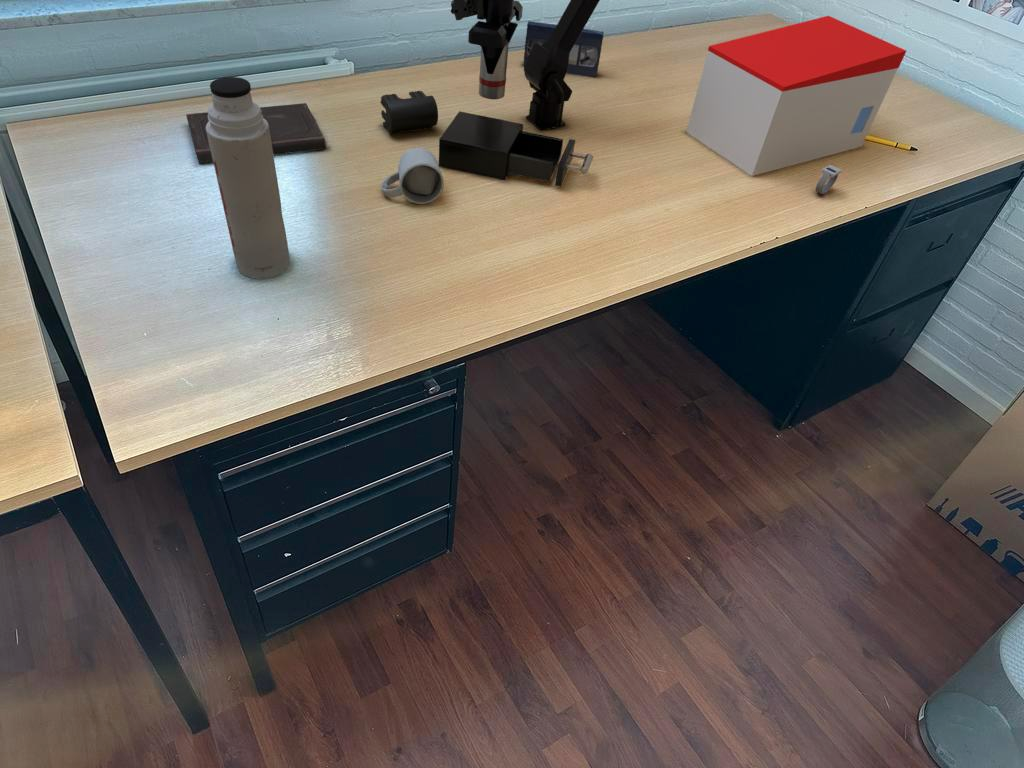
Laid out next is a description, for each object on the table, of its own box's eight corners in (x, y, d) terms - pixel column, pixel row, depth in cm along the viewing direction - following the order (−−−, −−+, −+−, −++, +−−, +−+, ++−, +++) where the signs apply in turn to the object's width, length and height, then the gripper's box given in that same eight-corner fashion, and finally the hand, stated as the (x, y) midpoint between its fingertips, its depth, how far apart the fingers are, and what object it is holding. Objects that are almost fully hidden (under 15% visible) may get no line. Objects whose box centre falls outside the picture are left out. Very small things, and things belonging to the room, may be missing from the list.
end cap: (391, 140, 142) (390, 107, 137) (379, 125, 146) (378, 92, 142) (438, 134, 146) (438, 101, 141) (425, 119, 150) (425, 87, 145)
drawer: (593, 163, 141) (596, 144, 138) (582, 191, 133) (586, 171, 130) (512, 147, 143) (514, 127, 140) (497, 173, 135) (499, 153, 132)
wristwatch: (823, 184, 145) (833, 162, 142) (835, 190, 144) (845, 167, 141) (808, 194, 142) (818, 171, 139) (820, 199, 141) (831, 177, 137)
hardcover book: (188, 125, 139) (185, 114, 138) (307, 113, 147) (306, 102, 145) (199, 165, 129) (196, 153, 128) (326, 150, 137) (324, 138, 136)
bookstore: (862, 146, 160) (907, 50, 145) (751, 176, 145) (789, 72, 130) (794, 107, 172) (829, 15, 157) (685, 131, 157) (712, 32, 142)
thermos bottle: (231, 278, 107) (189, 94, 88) (241, 247, 113) (203, 68, 93) (286, 279, 108) (256, 98, 89) (293, 249, 114) (266, 72, 94)
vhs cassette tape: (522, 66, 175) (526, 23, 168) (524, 62, 177) (528, 19, 170) (596, 78, 174) (603, 35, 167) (597, 73, 176) (604, 31, 169)
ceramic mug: (437, 180, 133) (437, 141, 127) (443, 203, 127) (444, 164, 122) (379, 182, 131) (377, 143, 125) (383, 206, 125) (381, 166, 120)
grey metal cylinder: (496, 86, 146) (499, 35, 139) (509, 97, 143) (514, 45, 136) (473, 90, 143) (476, 38, 136) (487, 101, 140) (490, 48, 133)
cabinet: (520, 151, 144) (523, 123, 140) (504, 180, 135) (507, 152, 131) (458, 138, 145) (459, 111, 141) (438, 166, 137) (439, 138, 133)
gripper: (469, -40, 136) (466, 45, 147) (441, -12, 123) (440, 79, 134) (526, -31, 135) (518, 54, 146) (504, -1, 122) (497, 89, 133)
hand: (493, 68), depth 140 cm, fingers closed on grey metal cylinder, 5 cm apart
